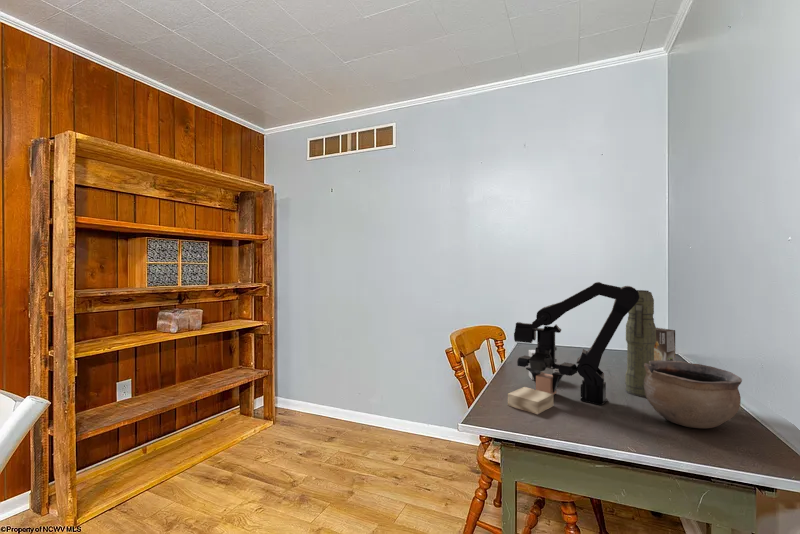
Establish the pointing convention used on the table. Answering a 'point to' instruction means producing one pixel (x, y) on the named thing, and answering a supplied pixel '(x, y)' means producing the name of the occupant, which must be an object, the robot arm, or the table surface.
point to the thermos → (639, 342)
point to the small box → (547, 371)
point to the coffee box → (664, 345)
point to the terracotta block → (545, 383)
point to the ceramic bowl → (692, 393)
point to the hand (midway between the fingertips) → (546, 390)
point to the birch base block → (530, 400)
